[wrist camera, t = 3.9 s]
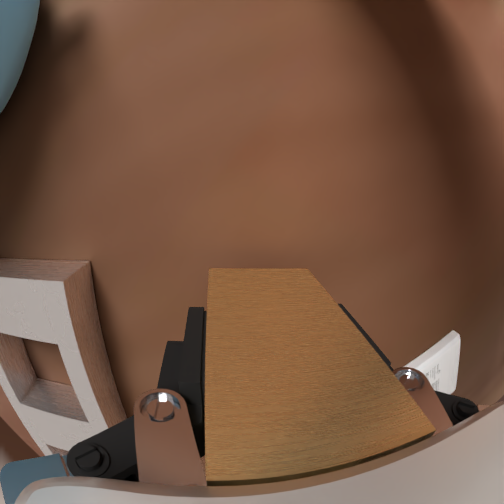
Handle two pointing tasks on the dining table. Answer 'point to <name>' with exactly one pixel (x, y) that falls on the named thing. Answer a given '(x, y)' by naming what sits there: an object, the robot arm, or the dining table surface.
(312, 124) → the dining table surface
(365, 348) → the gold rectangular block
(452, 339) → the external hard drive
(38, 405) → the grey slotted plate
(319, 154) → the dining table surface
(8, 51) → the decorative pot
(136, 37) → the dining table surface
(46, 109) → the dining table surface
